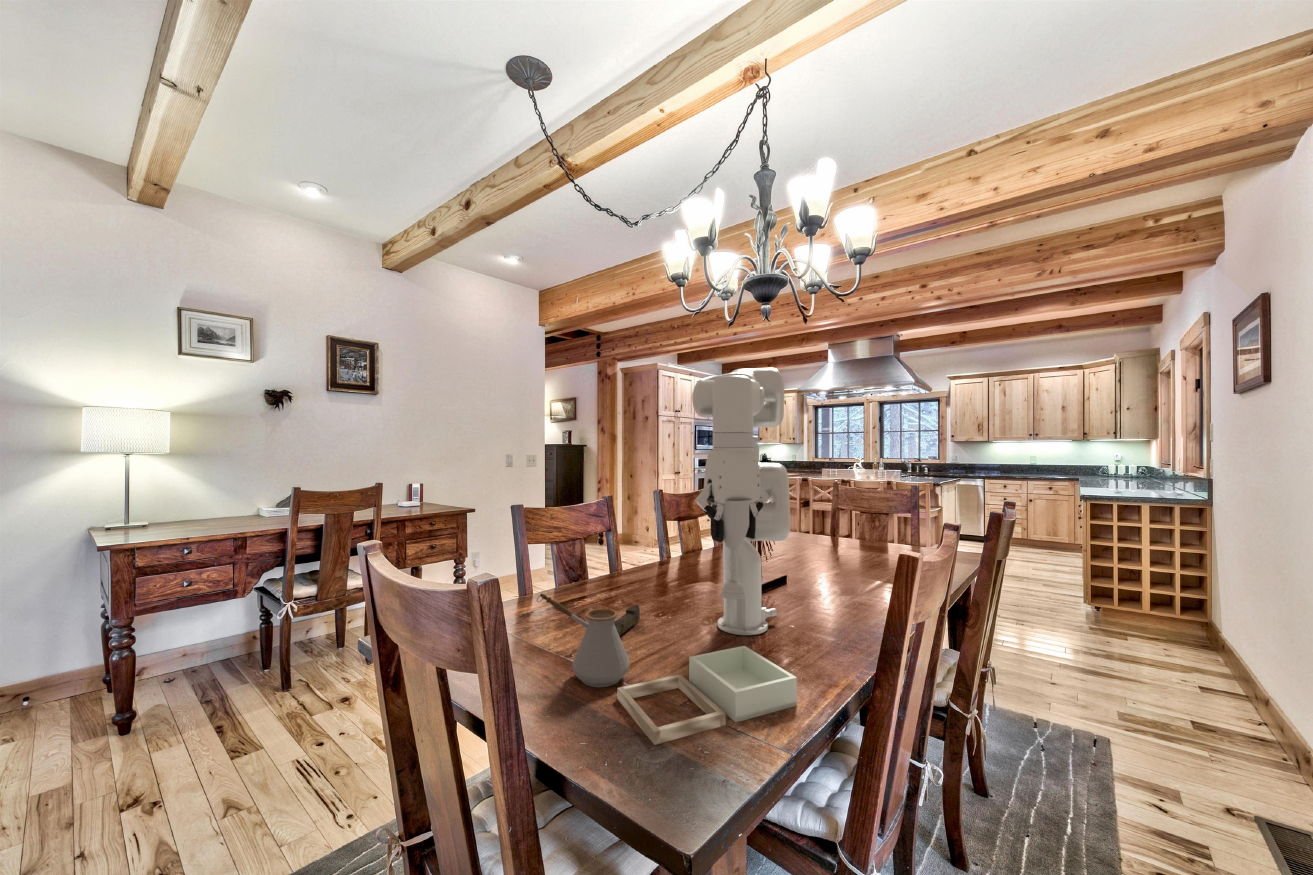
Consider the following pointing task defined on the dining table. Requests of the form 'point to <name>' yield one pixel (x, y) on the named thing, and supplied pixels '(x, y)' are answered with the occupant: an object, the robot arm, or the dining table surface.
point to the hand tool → (628, 619)
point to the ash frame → (673, 730)
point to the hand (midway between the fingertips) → (733, 538)
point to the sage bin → (742, 682)
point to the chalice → (734, 543)
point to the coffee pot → (598, 648)
